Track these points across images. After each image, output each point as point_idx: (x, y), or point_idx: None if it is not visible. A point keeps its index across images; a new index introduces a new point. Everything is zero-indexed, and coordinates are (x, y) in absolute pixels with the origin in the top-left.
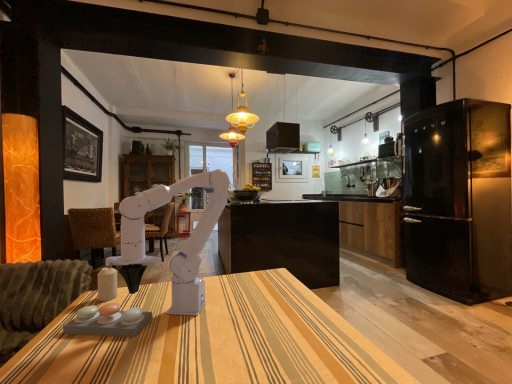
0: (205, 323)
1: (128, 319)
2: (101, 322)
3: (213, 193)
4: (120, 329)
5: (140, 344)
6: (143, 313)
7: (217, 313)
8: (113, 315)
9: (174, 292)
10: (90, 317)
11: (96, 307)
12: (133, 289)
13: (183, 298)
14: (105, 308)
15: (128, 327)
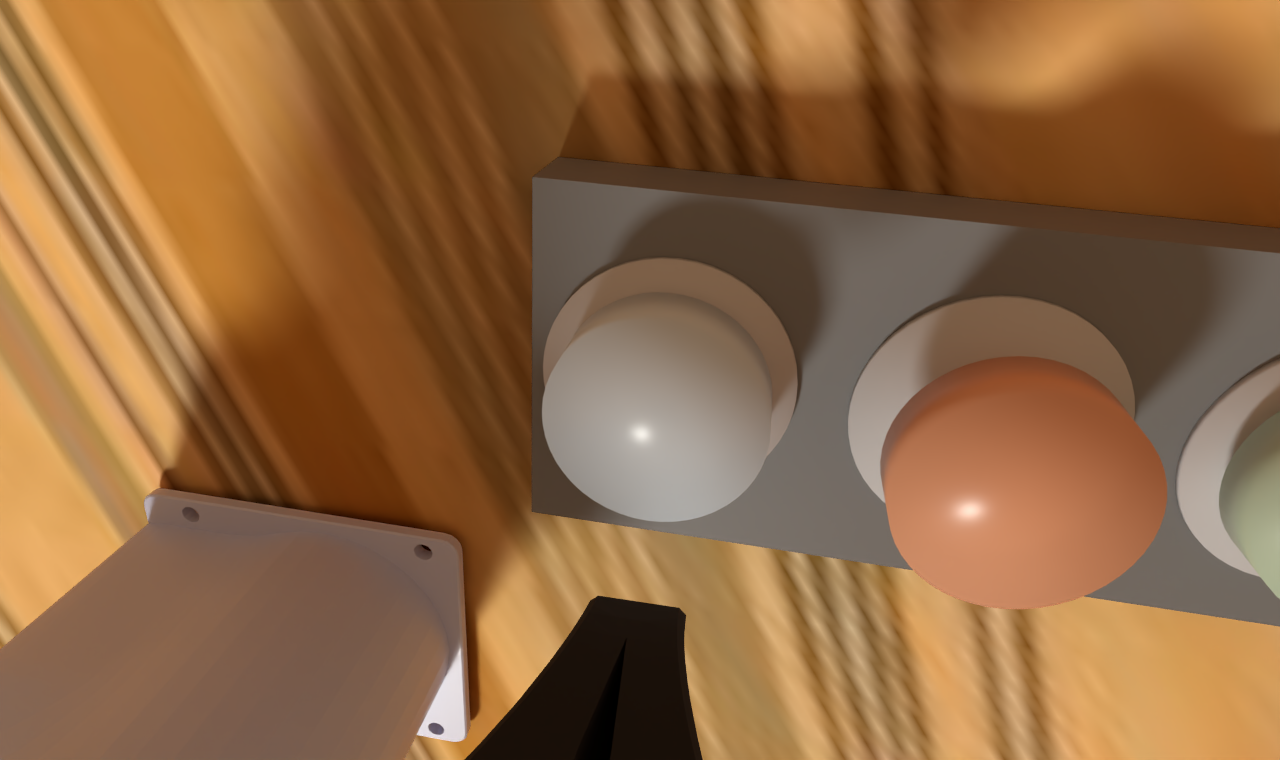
0: (17, 364)
1: (650, 300)
2: (1039, 319)
3: None
4: (712, 191)
5: (413, 27)
6: None
7: (13, 508)
8: None
9: (258, 707)
10: None
11: (1267, 569)
12: (569, 644)
13: (190, 632)
14: (1060, 458)
15: (619, 210)
